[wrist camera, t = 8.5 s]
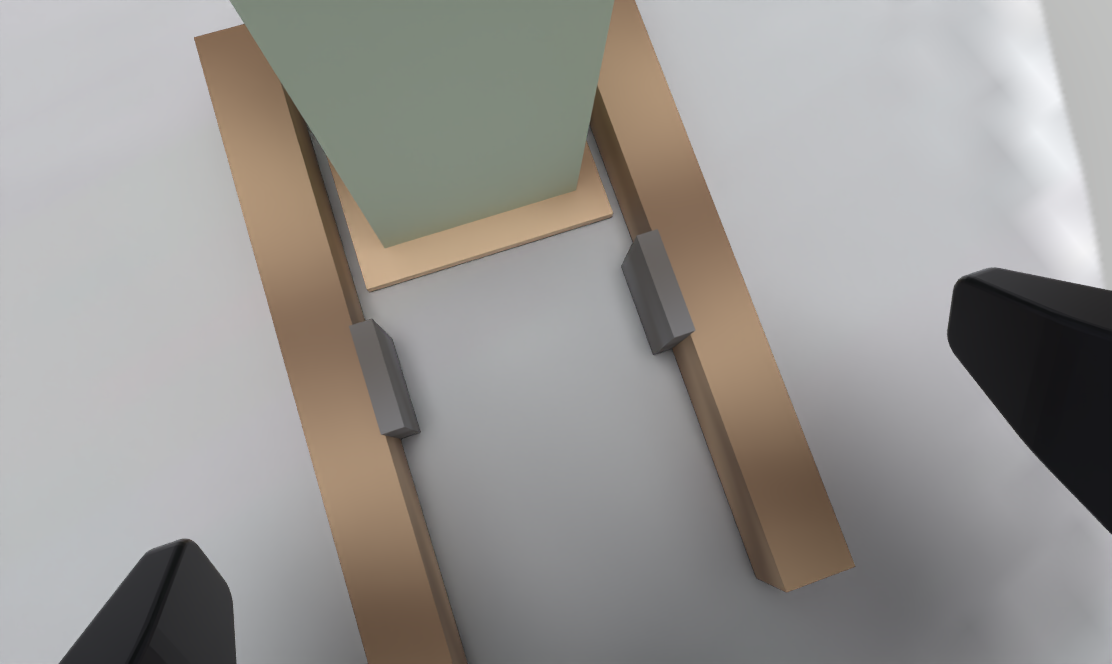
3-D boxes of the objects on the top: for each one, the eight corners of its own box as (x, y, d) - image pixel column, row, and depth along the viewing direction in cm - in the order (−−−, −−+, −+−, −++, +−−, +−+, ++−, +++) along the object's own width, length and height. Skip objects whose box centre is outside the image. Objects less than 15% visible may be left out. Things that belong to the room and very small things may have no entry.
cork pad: (611, 217, 19) (612, 213, 18) (369, 292, 18) (366, 288, 18) (537, 14, 20) (538, 7, 19) (304, 79, 19) (301, 72, 19)
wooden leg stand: (817, 555, 17) (866, 570, 15) (405, 708, 16) (385, 751, 14) (598, -20, 20) (608, -88, 18) (227, 81, 19) (183, 24, 16)
